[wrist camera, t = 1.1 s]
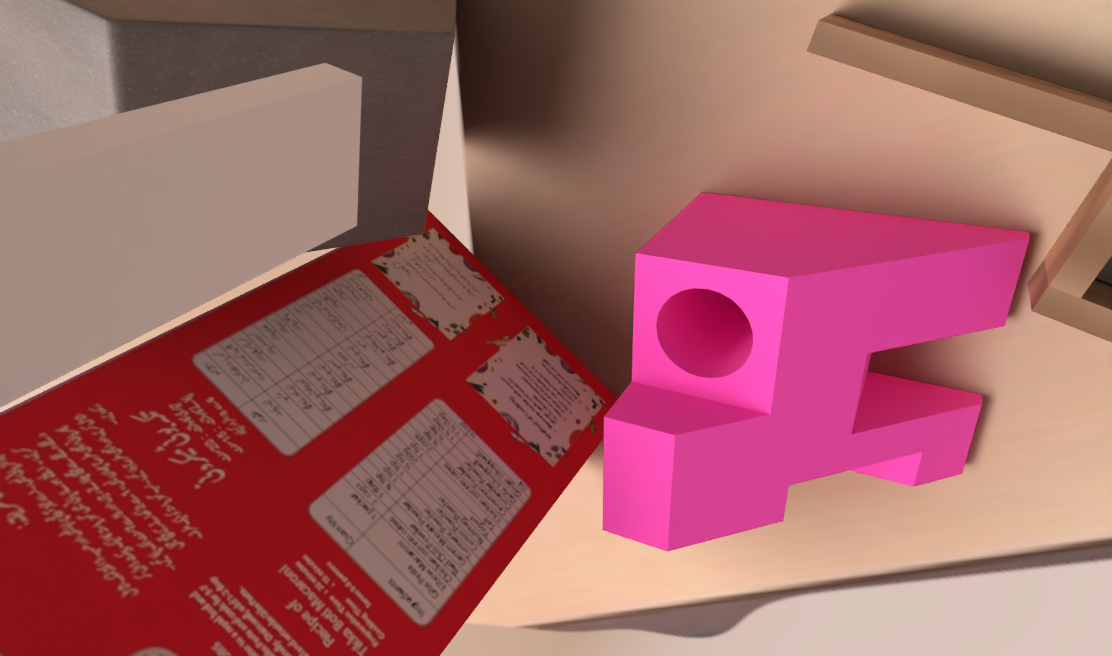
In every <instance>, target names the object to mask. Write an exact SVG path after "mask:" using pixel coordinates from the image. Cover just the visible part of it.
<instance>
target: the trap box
mask: <svg viewBox="0 0 1112 656" xmlns="http://www.w3.org/2000/svg"><path fill="white" fill-rule="evenodd" d="M807 51H808V52H811V53H814V54H817V55H820V56H823V57H826V58H829V59H832V60H835V61H838V62H841V63H844V64H847V65H850V66H853V67H856V68H860V69H863V70H866V71H869V72H872V73H875V74H878V75H881V76H884V77H887V78H890V79H893V80H896V81H899V82H902V83H905V84H908V85H911V86H914V87H917V88H920V89H923V90H926V91H929V92H932V93H935V94H938V95H941V96H944V97H948V98H951V99H954V100H957V101H960V102H963V103H966V104H969V105H972V106H975V107H978V108H981V109H984V110H987V111H990V112H993V113H996V114H999V115H1002V116H1005V117H1008V118H1011V119H1014V120H1017V121H1020V122H1023V123H1026V124H1029V125H1032V126H1035V127H1039V128H1042V129H1045V130H1048V131H1051V132H1054V133H1057V134H1060V135H1063V136H1066V137H1069V138H1072V139H1075V140H1078V141H1081V142H1084V143H1087V144H1090V145H1093V146H1096V147H1099V148H1102V149H1105V150H1108V151H1111V152H1112V101H1109V100H1106V99H1102V98H1099V97H1096V96H1093V95H1090V94H1086V93H1083V92H1080V91H1077V90H1074V89H1070V88H1067V87H1064V86H1061V85H1058V84H1054V83H1051V82H1048V81H1045V80H1042V79H1038V78H1035V77H1032V76H1029V75H1026V74H1022V73H1019V72H1016V71H1013V70H1010V69H1006V68H1003V67H1000V66H997V65H994V64H990V63H987V62H984V61H981V60H978V59H974V58H971V57H968V56H965V55H961V54H958V53H955V52H952V51H949V50H945V49H942V48H939V47H936V46H933V45H929V44H926V43H923V42H920V41H917V40H913V39H910V38H907V37H904V36H901V35H897V34H894V33H891V32H888V31H885V30H881V29H878V28H875V27H872V26H869V25H865V24H862V23H859V22H856V21H853V20H849V19H846V18H843V17H840V16H837V15H833V14H830V15H828V16H826V17H824V18H822V19H821V20H819V22H818V24H817V27H816V29H815V32H814V34H813V37H812V39H811V42H810V44H809V47H808V49H807ZM1095 278H1097V279H1100V280H1102V281H1105V282H1108V283H1110V284H1112V159H1111V161H1110V162H1109V164H1108V165H1107V167H1106V168H1105V170H1104V171H1103V173H1102V174H1101V176H1100V177H1099V179H1098V180H1097V182H1096V183H1095V185H1094V186H1093V188H1092V189H1091V191H1090V192H1089V194H1088V195H1087V197H1086V198H1085V200H1084V201H1083V203H1082V204H1081V205H1080V207H1079V208H1078V210H1077V211H1076V213H1075V214H1074V216H1073V217H1072V219H1071V220H1070V222H1069V223H1068V225H1067V226H1066V228H1065V229H1064V231H1063V232H1062V234H1061V235H1060V237H1059V238H1058V240H1057V241H1056V243H1055V244H1054V246H1053V247H1052V249H1051V250H1050V252H1049V253H1048V255H1047V256H1046V258H1045V259H1044V261H1043V262H1042V264H1041V265H1040V267H1039V268H1038V270H1037V271H1036V273H1035V274H1034V276H1033V277H1032V278H1031V280H1030V281H1029V283H1028V285H1029V293H1030V301H1031V309H1032V311H1034V312H1036V313H1039V314H1041V315H1044V316H1046V317H1049V318H1052V319H1054V320H1057V321H1059V322H1062V323H1064V324H1067V325H1069V326H1072V327H1074V328H1077V329H1079V330H1082V331H1084V332H1087V333H1089V334H1092V335H1095V336H1097V337H1100V338H1102V339H1105V340H1107V341H1110V342H1112V285H1110V284H1107V283H1104V282H1102V281H1099V280H1096V279H1095Z"/></svg>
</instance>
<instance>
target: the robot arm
mask: <svg viewBox="0 0 1112 656" xmlns="http://www.w3.org/2000/svg"><path fill="white" fill-rule="evenodd" d="M361 93H362V77H360V76H358V75H355V74H353V73H350V72H348V71H345V70H342V69H340V68H337V67H335V66H332V65H330V64H327V63H323V64H319V65H315V66H311V67H306V68H302V69H298V70H294V71H290V72H286V73H282V74H278V75H274V76H270V77H266V78H262V79H258V80H254V81H250V82H246V83H242V84H238V85H233V86H229V87H225V88H221V89H217V90H213V91H209V92H205V93H201V94H197V95H193V96H189V97H185V98H181V99H177V100H173V101H169V102H164V103H160V104H156V105H152V106H148V107H144V108H140V109H136V110H132V111H128V112H124V113H120V114H116V115H112V116H108V117H104V118H100V119H96V120H91V121H87V122H83V123H79V124H75V125H71V126H67V127H63V128H59V129H55V130H51V131H47V132H43V133H39V134H35V135H31V136H27V137H22V138H18V139H14V140H10V141H6V142H2V143H0V407H2V406H4V405H6V404H8V403H10V402H12V401H14V400H16V399H18V398H20V397H22V396H24V395H25V394H27V393H30V392H31V391H33V390H35V389H37V388H39V387H41V386H43V385H45V384H47V383H49V382H51V381H53V380H55V379H57V378H59V377H61V376H63V375H65V374H67V373H69V372H71V371H73V370H75V369H77V368H78V367H81V366H82V365H85V364H87V363H88V362H90V361H92V360H94V359H96V358H98V357H100V356H102V355H104V354H106V353H108V352H110V351H112V350H114V349H116V348H118V347H120V346H122V345H124V344H126V343H128V342H130V341H132V340H134V339H136V338H137V337H140V336H142V335H143V334H145V333H147V332H149V331H151V330H153V329H155V328H157V327H159V326H161V325H163V324H165V323H167V322H169V321H171V320H173V319H175V318H177V317H179V316H181V315H183V314H185V313H187V312H189V311H191V310H193V309H195V308H197V307H198V306H200V305H202V304H204V303H206V302H208V301H210V300H212V299H214V298H216V297H218V296H220V295H222V294H224V293H226V292H228V291H230V290H232V289H233V288H236V287H238V286H240V285H241V284H244V283H246V282H247V281H250V280H252V279H253V278H255V277H257V276H259V275H261V274H263V273H265V272H267V271H269V270H271V269H273V268H275V267H277V266H279V265H281V264H283V263H285V262H286V261H289V260H291V259H293V258H295V257H296V256H299V255H300V254H303V253H305V252H306V251H308V250H310V249H312V248H314V247H316V246H318V245H320V244H322V243H324V242H326V241H328V240H330V239H332V238H334V237H336V236H338V235H340V234H342V233H344V232H346V231H348V230H350V229H352V228H354V227H356V226H357V209H358V180H359V151H360V122H361Z"/></svg>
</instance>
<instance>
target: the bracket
mask: <svg viewBox="0 0 1112 656" xmlns="http://www.w3.org/2000/svg"><path fill="white" fill-rule="evenodd" d="M1029 239H1030V237H1029V232H1027V231H1018V230H1010V229H1002V228H993V227H985V226H977V225H969V224H960V223H952V222H944V221H935V220H927V219H919V218H911V217H902V216H894V215H886V214H877V213H869V212H861V211H853V210H844V209H836V208H828V207H819V206H811V205H803V204H795V203H786V202H778V201H770V200H761V199H753V198H745V197H737V196H728V195H720V194H712V193H703V192H702V193H700V194H699V195H698V196H697V197H696V198H695V199H694V200H693V201H692V202H691V203H690V204H688V205H687V206H686V207H685V208H684V209H683V210H682V211H681V212H680V213H679V214H678V215H677V216H675V217H674V218H673V219H672V220H671V221H670V222H669V223H668V224H667V225H666V226H665V227H663V228H662V229H661V230H660V231H659V232H658V233H657V234H656V235H655V236H654V237H653V238H652V239H650V240H649V241H648V242H647V243H646V244H645V245H644V246H643V247H642V248H641V249H640V250H638V251H637V252H636V256H635V288H634V321H633V353H632V382H631V383H630V384H629V386H628V387H627V388H626V389H625V391H624V392H623V393H622V394H621V396H620V397H619V398H618V400H617V401H616V402H615V403H614V405H613V406H612V407H611V409H610V410H609V411H608V412H607V414H606V415H605V416H604V462H603V530H604V531H607V532H610V533H613V534H616V535H619V536H623V537H626V538H629V539H632V540H635V541H638V542H641V543H644V544H647V545H650V546H653V547H656V548H659V549H662V550H665V551H671V550H674V549H678V548H682V547H686V546H690V545H693V544H697V543H701V542H705V541H709V540H712V539H716V538H720V537H724V536H728V535H731V534H735V533H739V532H743V531H747V530H750V529H754V528H758V527H762V526H766V525H769V524H773V523H777V522H781V521H783V518H784V512H785V505H786V499H787V492H788V486H789V485H792V484H796V483H800V482H804V481H808V480H812V479H816V478H820V477H824V476H828V475H832V474H836V473H840V472H844V471H848V470H851V471H855V472H859V473H863V474H867V475H871V476H875V477H878V478H882V479H886V480H890V481H894V482H898V483H902V484H906V485H910V486H917V485H921V484H925V483H929V482H933V481H936V480H940V479H944V478H948V477H952V476H955V475H959V474H962V472H963V468H964V465H965V461H966V458H967V454H968V451H969V448H970V444H971V441H972V437H973V434H974V430H975V427H976V423H977V420H978V416H979V413H980V409H981V406H982V394H977V393H972V392H967V391H962V390H957V389H952V388H947V387H942V386H937V385H932V384H927V383H923V382H918V381H913V380H908V379H903V378H898V377H893V376H888V375H883V374H878V373H873V372H868V368H869V363H870V358H871V353H872V352H877V351H882V350H887V349H892V348H897V347H902V346H907V345H912V344H917V343H922V342H927V341H932V340H937V339H942V338H947V337H952V336H957V335H962V334H967V333H971V332H976V331H981V330H986V329H991V328H996V327H1001V326H1005V323H1006V319H1007V316H1008V312H1009V309H1010V305H1011V302H1012V298H1013V295H1014V291H1015V288H1016V284H1017V281H1018V278H1019V274H1020V271H1021V267H1022V264H1023V260H1024V257H1025V253H1026V250H1027V246H1028V243H1029Z"/></svg>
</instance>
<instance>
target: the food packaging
mask: <svg viewBox="0 0 1112 656" xmlns="http://www.w3.org/2000/svg"><path fill="white" fill-rule="evenodd" d="M617 400H618V398H617V397H616V396H615V395H614V394H613V393H612V392H611V391H610V390H609V389H608V388H607V387H606V386H605V385H604V384H603V383H602V382H601V381H600V380H599V379H598V378H597V377H596V376H595V375H594V374H593V373H592V372H591V371H590V370H589V369H588V368H587V367H586V366H585V365H584V364H583V363H582V362H581V361H580V360H579V359H578V358H577V357H576V356H575V355H574V354H573V353H572V352H571V351H570V350H569V349H568V348H567V347H566V346H565V345H564V344H563V343H562V342H561V341H560V340H559V339H558V338H557V337H556V336H555V335H554V334H553V333H552V332H551V331H550V330H549V329H548V328H546V327H545V326H544V325H543V324H542V323H541V322H540V321H539V320H538V319H537V318H536V317H535V316H534V315H533V314H532V313H531V312H530V311H529V310H528V309H527V308H526V307H525V306H524V305H523V304H522V303H521V302H520V301H519V300H518V299H517V298H516V297H515V296H514V295H513V294H512V293H511V292H510V291H509V290H508V289H507V288H506V287H505V286H504V285H503V284H502V283H501V282H500V281H499V280H498V279H497V278H496V277H495V276H494V275H493V274H492V273H491V272H490V271H489V270H488V269H487V268H486V267H485V266H484V265H483V264H482V263H481V262H480V261H479V260H478V259H477V258H476V257H475V256H474V255H473V254H472V253H471V252H470V251H469V250H468V249H467V248H466V247H465V246H464V245H463V244H462V243H461V242H460V241H459V240H458V239H457V238H456V237H455V236H454V235H453V234H452V233H451V232H450V231H449V230H448V229H447V228H446V227H445V226H444V225H443V224H442V223H441V222H440V221H439V220H438V219H437V218H436V217H435V216H434V215H433V214H432V213H431V212H429V210H428V211H427V217H426V224H425V229H424V232H423V233H422V234H419V235H413V236H407V237H401V238H394V239H388V240H381V241H375V242H368V243H362V244H355V245H349V246H343V247H339V248H336V249H334V250H332V251H331V252H328V253H326V254H324V255H322V256H320V257H318V258H316V259H314V260H312V261H310V262H308V263H306V264H304V265H302V266H300V267H298V268H296V269H294V270H292V271H289V272H287V273H285V274H283V275H281V276H279V277H277V278H275V279H273V280H271V281H269V282H267V283H265V284H263V285H261V286H259V287H257V288H255V289H253V290H251V291H249V292H246V293H244V294H242V295H240V296H239V297H236V298H234V299H232V300H230V301H228V302H226V303H224V304H222V305H220V306H218V307H216V308H214V309H212V310H210V311H208V312H205V313H204V314H201V315H199V316H197V317H195V318H193V319H191V320H189V321H187V322H185V323H183V324H181V325H179V326H177V327H175V328H173V329H171V330H169V331H167V332H165V333H163V334H160V335H158V336H156V337H155V338H152V339H150V340H148V341H146V342H144V343H142V344H140V345H138V346H136V347H134V348H132V349H130V350H128V351H126V352H124V353H122V354H120V355H117V356H116V357H113V358H111V359H109V360H107V361H105V362H103V363H101V364H99V365H97V366H95V367H93V368H91V369H89V370H87V371H85V372H83V373H81V374H79V375H77V376H75V377H72V378H70V379H68V380H66V381H64V382H63V383H60V384H58V385H56V386H54V387H52V388H50V389H48V390H46V391H44V392H42V393H40V394H38V395H36V396H34V397H32V398H29V399H28V400H26V401H23V402H21V403H20V404H17V405H15V406H13V407H11V408H9V409H7V410H5V411H3V412H1V413H0V656H440V654H441V653H442V652H443V651H444V649H445V648H446V646H447V645H448V644H449V643H450V641H451V640H452V639H453V637H454V636H455V635H456V633H457V632H458V631H459V629H460V628H461V627H462V625H463V624H464V623H465V621H466V620H467V619H468V617H469V616H470V615H471V613H472V612H473V611H474V609H475V608H476V607H477V605H478V604H479V603H480V601H481V600H482V599H483V597H484V596H485V595H486V593H487V592H488V591H489V589H490V588H491V587H492V585H493V584H494V583H495V581H496V580H497V579H498V577H499V576H500V575H501V574H502V572H503V571H504V570H505V568H506V567H507V566H508V564H509V563H510V562H511V560H512V559H513V558H514V556H515V555H516V554H517V552H518V551H519V550H520V548H521V547H522V546H523V544H524V543H525V542H526V540H527V539H528V538H529V536H530V535H531V534H532V532H533V531H534V530H535V528H536V527H537V526H538V524H539V523H540V522H541V520H542V519H543V518H544V516H545V515H546V514H547V512H548V511H549V510H550V508H551V507H552V506H553V504H554V503H555V502H556V500H557V499H558V498H559V496H560V495H561V494H562V492H563V491H564V490H565V488H566V487H567V486H568V484H569V483H570V482H571V480H572V479H573V478H574V476H575V475H576V474H577V472H578V471H579V470H580V468H581V467H582V466H583V465H584V463H585V462H586V461H587V459H588V458H589V457H590V455H591V454H592V453H593V451H594V450H595V449H596V447H597V446H598V445H599V443H600V442H601V441H602V439H603V438H604V416H605V415H606V414H607V412H608V411H609V410H610V409H611V407H612V406H613V405H614V403H615V402H616V401H617Z"/></svg>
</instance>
